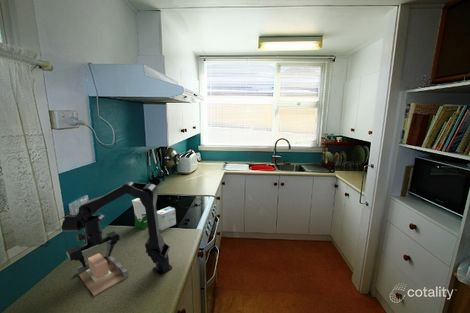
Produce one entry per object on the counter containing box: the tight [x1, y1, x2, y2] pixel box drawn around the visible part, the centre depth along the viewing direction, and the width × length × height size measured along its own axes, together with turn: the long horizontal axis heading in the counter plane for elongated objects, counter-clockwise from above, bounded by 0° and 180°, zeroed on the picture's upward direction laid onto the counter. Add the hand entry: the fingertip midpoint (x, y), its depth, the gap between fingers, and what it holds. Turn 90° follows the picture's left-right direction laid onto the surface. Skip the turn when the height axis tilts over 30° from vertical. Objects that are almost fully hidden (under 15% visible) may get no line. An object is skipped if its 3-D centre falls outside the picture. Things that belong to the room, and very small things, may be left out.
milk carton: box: [131, 198, 148, 230], centre depth 133 cm, size 9×9×20 cm
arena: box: [76, 253, 129, 297], centre depth 92 cm, size 20×13×3 cm, turn 52°
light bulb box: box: [157, 206, 177, 231], centre depth 133 cm, size 11×7×11 cm, turn 141°
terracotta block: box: [87, 252, 109, 279], centre depth 93 cm, size 4×9×6 cm, turn 52°
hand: (97, 262), depth 92 cm, fingers open, 9 cm apart
